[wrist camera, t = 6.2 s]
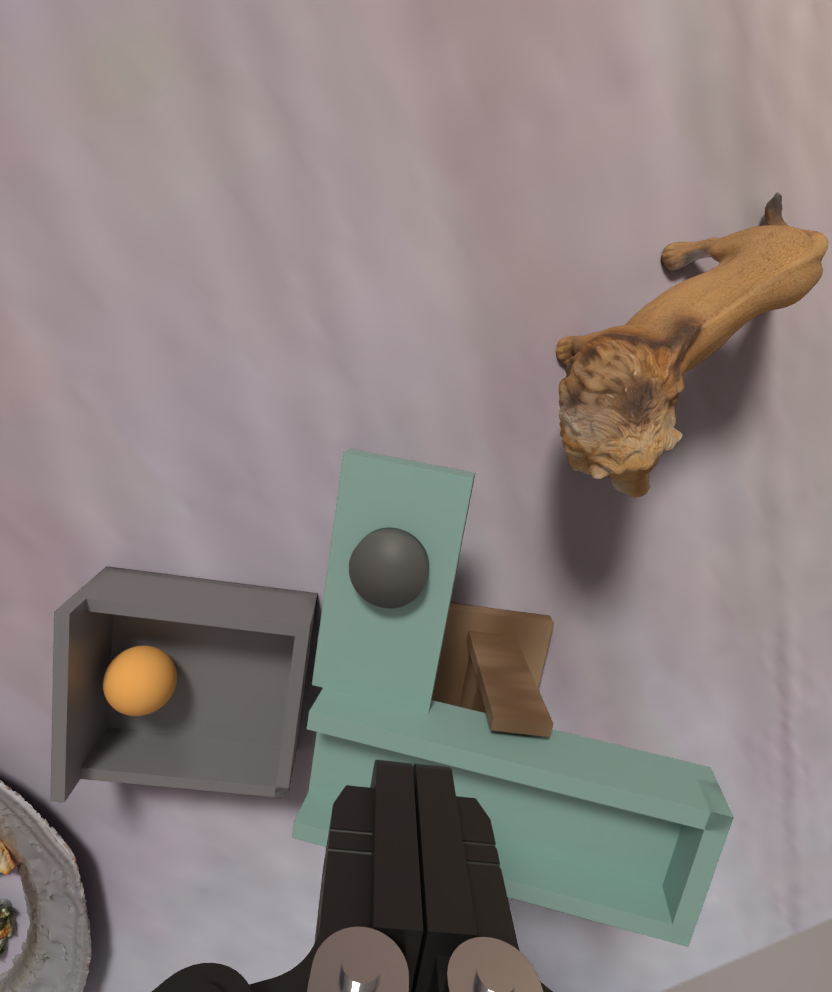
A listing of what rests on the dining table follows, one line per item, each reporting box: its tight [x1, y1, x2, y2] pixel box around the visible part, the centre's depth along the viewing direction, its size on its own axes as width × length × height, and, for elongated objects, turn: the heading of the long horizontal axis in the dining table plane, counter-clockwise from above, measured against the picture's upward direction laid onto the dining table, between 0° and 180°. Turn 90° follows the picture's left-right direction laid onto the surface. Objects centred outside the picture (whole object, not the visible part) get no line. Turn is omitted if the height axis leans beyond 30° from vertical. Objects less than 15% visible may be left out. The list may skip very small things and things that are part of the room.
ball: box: [103, 646, 177, 716], centre depth 29 cm, size 3×3×3 cm
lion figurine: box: [556, 193, 828, 497], centre depth 24 cm, size 15×5×9 cm, turn 138°
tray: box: [50, 567, 318, 802], centre depth 29 cm, size 10×9×5 cm
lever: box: [292, 449, 733, 947], centre depth 24 cm, size 16×16×3 cm
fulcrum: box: [432, 603, 554, 737], centre depth 29 cm, size 6×10×8 cm, turn 171°
